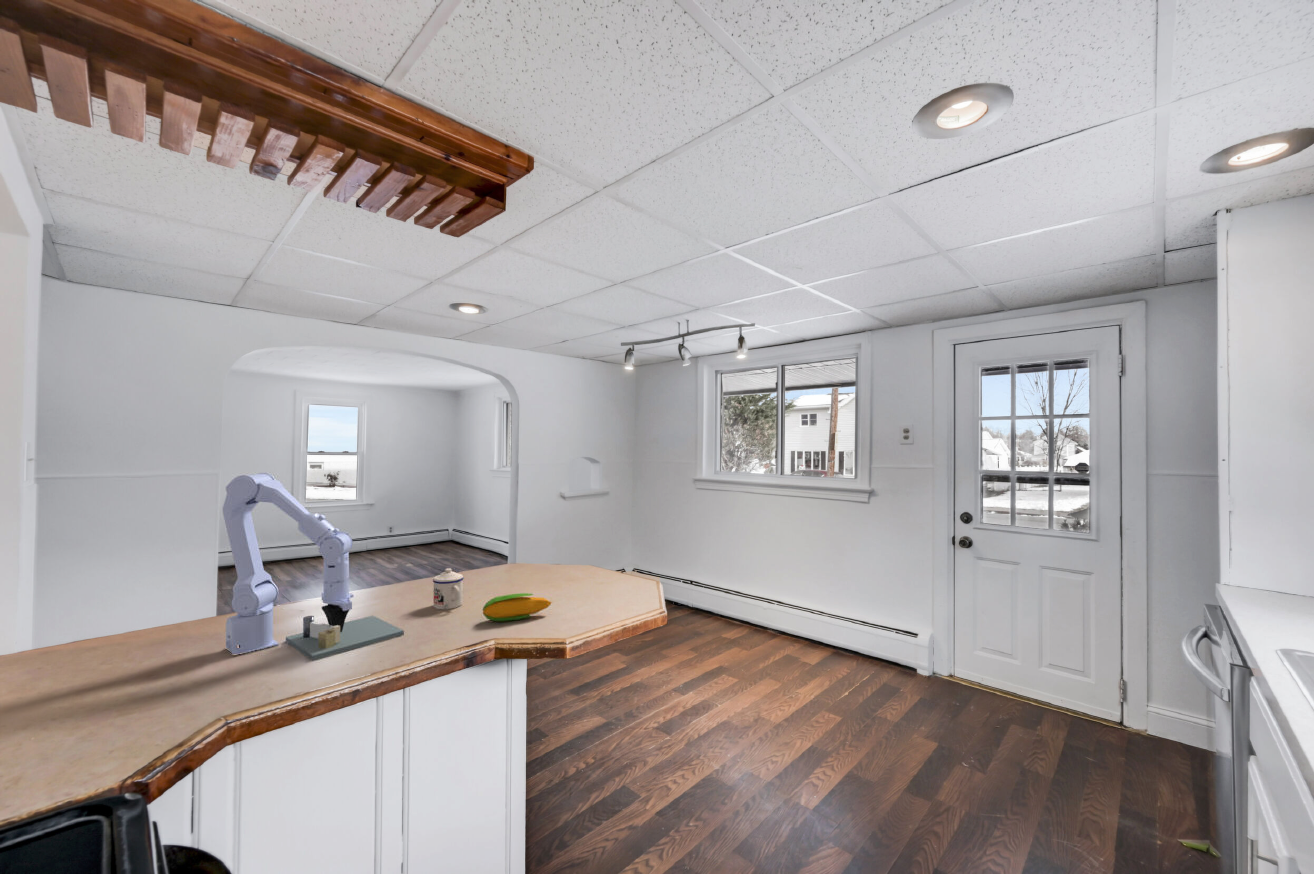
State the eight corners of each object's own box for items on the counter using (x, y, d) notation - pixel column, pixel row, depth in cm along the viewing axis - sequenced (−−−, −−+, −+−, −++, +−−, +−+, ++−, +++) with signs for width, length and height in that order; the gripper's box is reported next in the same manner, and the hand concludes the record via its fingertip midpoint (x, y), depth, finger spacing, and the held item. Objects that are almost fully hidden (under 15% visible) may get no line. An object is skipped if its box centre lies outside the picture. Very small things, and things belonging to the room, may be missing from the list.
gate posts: (322, 649, 134) (322, 629, 133) (301, 636, 142) (301, 617, 142) (336, 646, 136) (336, 626, 136) (315, 632, 145) (315, 614, 145)
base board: (312, 660, 130) (312, 655, 130) (285, 641, 142) (285, 636, 142) (403, 634, 147) (403, 630, 147) (372, 619, 159) (372, 615, 159)
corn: (481, 593, 160) (547, 585, 169) (480, 618, 160) (547, 609, 169) (485, 601, 153) (554, 593, 162) (484, 628, 154) (553, 617, 163)
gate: (309, 636, 141) (309, 621, 141) (315, 634, 142) (315, 619, 142) (334, 643, 137) (334, 627, 137) (340, 641, 138) (340, 625, 138)
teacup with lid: (428, 605, 173) (428, 568, 173) (455, 599, 179) (456, 564, 179) (443, 614, 164) (443, 575, 164) (472, 607, 170) (472, 570, 170)
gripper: (364, 581, 140) (364, 634, 140) (341, 572, 149) (341, 622, 149) (334, 587, 134) (334, 642, 134) (312, 578, 143) (312, 629, 143)
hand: (336, 632), depth 141 cm, fingers closed
